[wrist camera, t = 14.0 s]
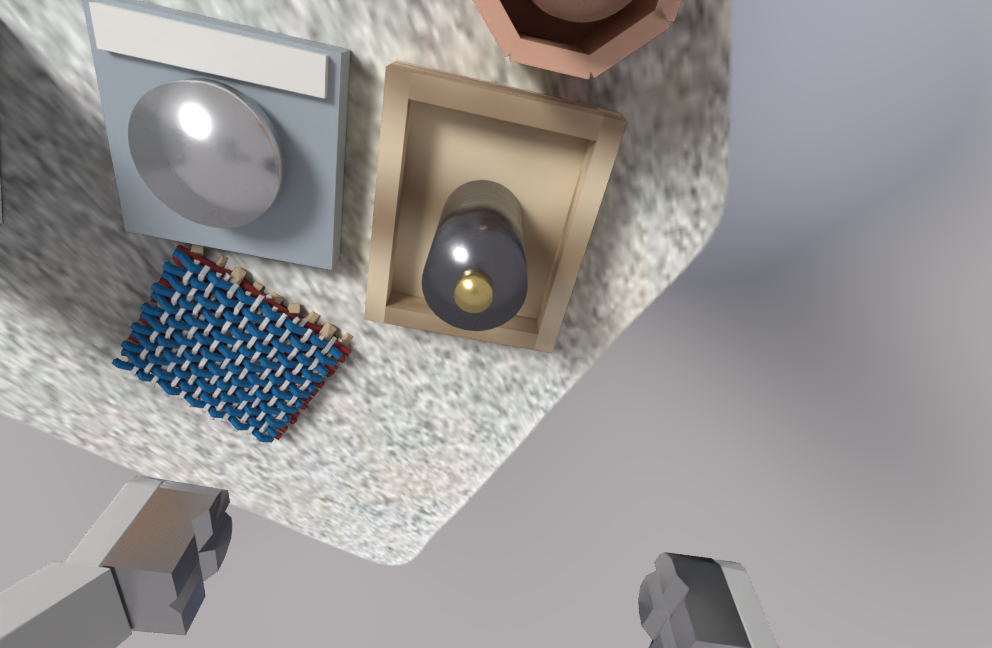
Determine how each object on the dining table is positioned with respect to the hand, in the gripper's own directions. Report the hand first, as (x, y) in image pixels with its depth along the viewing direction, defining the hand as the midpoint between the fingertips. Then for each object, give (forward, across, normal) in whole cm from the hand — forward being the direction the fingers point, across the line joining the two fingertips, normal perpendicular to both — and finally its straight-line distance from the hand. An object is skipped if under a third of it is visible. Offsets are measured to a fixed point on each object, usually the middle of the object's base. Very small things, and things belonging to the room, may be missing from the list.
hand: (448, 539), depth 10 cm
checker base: (+19, +12, 0) cm, 22 cm away
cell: (+18, 0, +1) cm, 18 cm away
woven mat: (+20, +12, +12) cm, 26 cm away
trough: (+19, 0, +1) cm, 19 cm away
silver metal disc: (+17, +12, 0) cm, 21 cm away
